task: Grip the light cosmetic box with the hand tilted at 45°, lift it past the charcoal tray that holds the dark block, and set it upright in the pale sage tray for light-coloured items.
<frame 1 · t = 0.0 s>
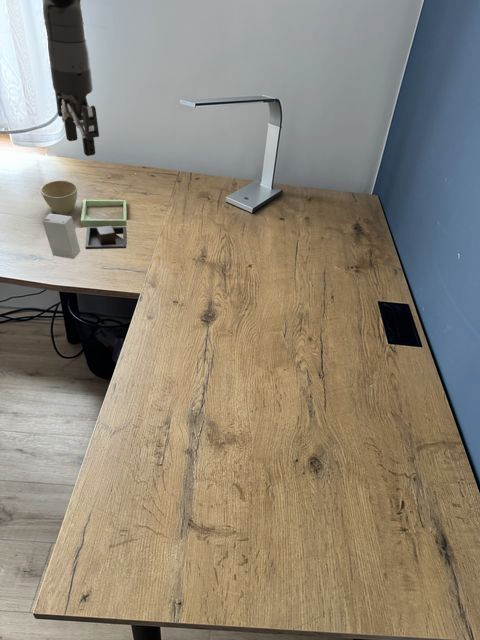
hand: (81, 147, 109), 32 cm above the table, tool pointing down, fingers open, 8 cm apart
bowl: (64, 211, 151), on the table
dark block: (107, 242, 140), point 1 cm above the table, touching dark tray
dark tray: (107, 244, 141), on the table
cosmetic box: (67, 259, 134), on the table
light tray: (105, 217, 151), on the table
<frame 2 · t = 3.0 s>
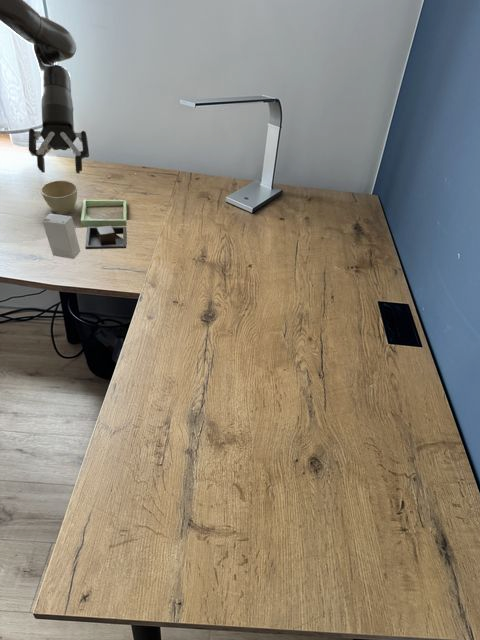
hand: (60, 172, 129), 19 cm above the table, tool tilted 45°, fingers open, 8 cm apart
nothing on the table moved.
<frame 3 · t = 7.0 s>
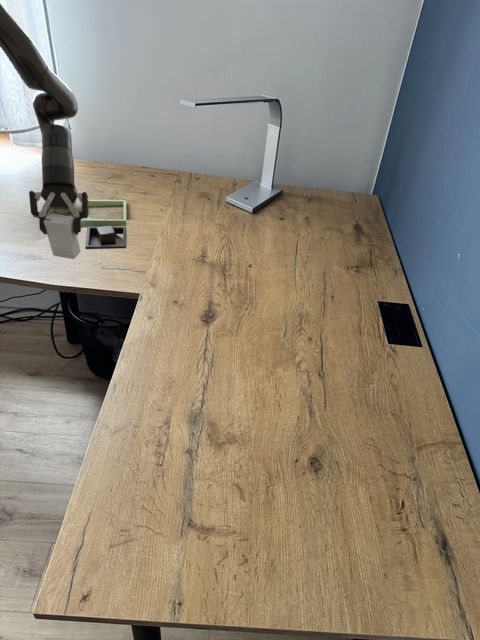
hand: (60, 233, 127), 9 cm above the table, tool tilted 45°, fingers closed on cosmetic box, 7 cm apart
cosmetic box: (67, 258, 134), on the table, touching gripper
everything else where it was.
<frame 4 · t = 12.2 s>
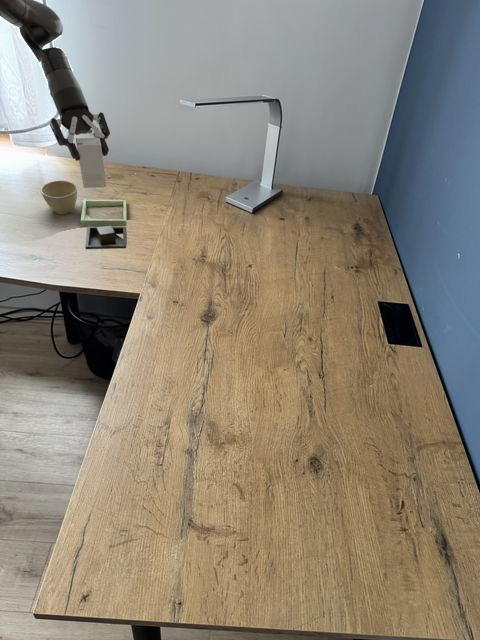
hand: (92, 156, 130), 22 cm above the table, tool tilted 45°, fingers closed on cosmetic box, 7 cm apart
cosmetic box: (94, 185, 136), point 14 cm above the table, touching gripper
everything else where it was.
when the fingers open (9 cm above the table, at t = 17.8 s): cosmetic box stays where it is, resting on light tray.
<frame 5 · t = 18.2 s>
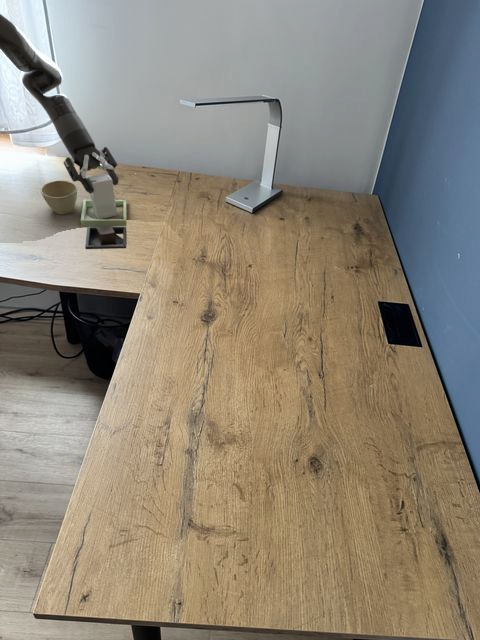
hand: (104, 188, 144), 10 cm above the table, tool tilted 45°, fingers open, 8 cm apart
cosmetic box: (105, 215, 151), resting on light tray
everything else where it was.
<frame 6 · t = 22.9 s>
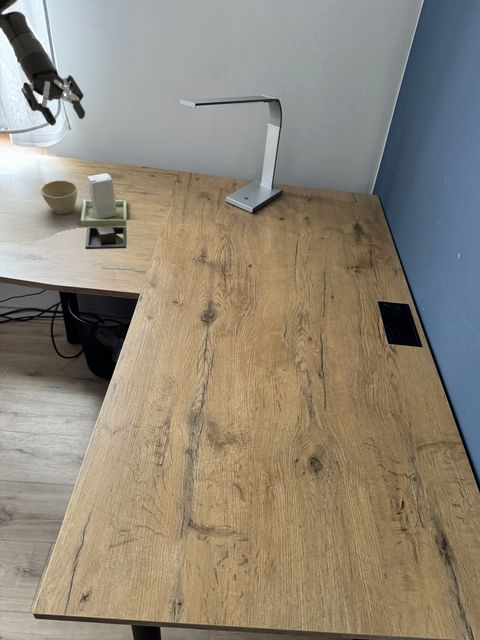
hand: (68, 120, 129), 29 cm above the table, tool tilted 45°, fingers open, 8 cm apart
nothing on the table moved.
at the end: cosmetic box inside the target area in the light tray (0.4 cm from its centre), point 0.5 cm above the light tray's base; cosmetic box tilted 2°; the gripper is holding nothing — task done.
